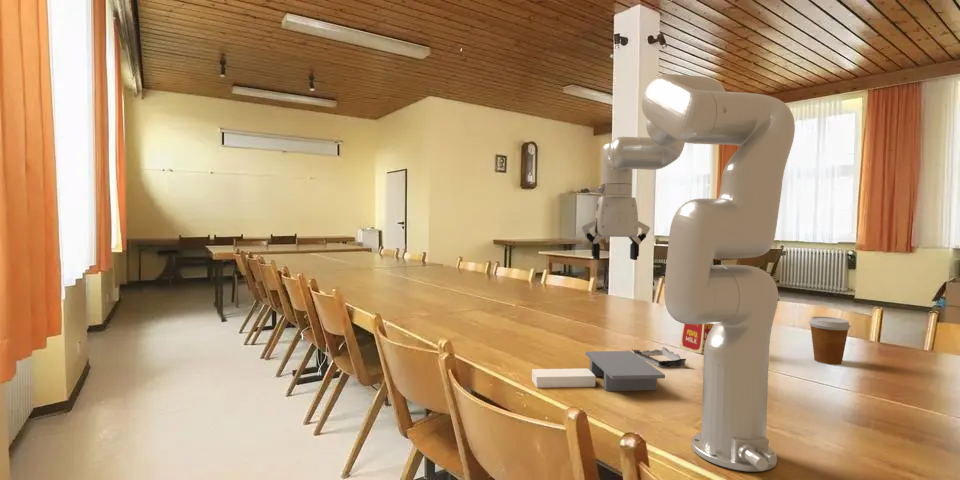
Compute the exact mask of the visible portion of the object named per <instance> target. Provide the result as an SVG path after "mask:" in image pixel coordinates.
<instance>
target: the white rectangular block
mask: <svg viewBox="0 0 960 480" xmlns="http://www.w3.org/2000/svg"><path fill="white" fill-rule="evenodd" d="M596 377H597V376H595V375H594V374H593V373H592V372H591V371H590V368H532V369H531V380H532V382H533V384H534V386H535V387H536V388H542V389H543V388H585V387H586V388H588V387H595V388H596Z"/></svg>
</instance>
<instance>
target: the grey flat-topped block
mask: <svg viewBox="0 0 960 480" xmlns="http://www.w3.org/2000/svg"><path fill="white" fill-rule="evenodd" d="M585 355H586V357H588V358H589V360H590V361H589V370H590V371H591V372H592V373H593V374H594V375H595V376H596V377H603V390H604V391H606V392H613V391H614V392H615V391H617V392H618V391H619V392H621V391H625V392H626V391H657V389H658V387H657V385H658V384H657V383H658V382H657V381H658V379H665V378H666V374H664V373H663V372H661V370H659V369H658V368H656V367H654V365H652V364H651V363H648V362H647V361H644V360H643V359H641V358H640V357H638V356H637V355H635V353H634V352H633V351H631V350H615V351H614V350H611V351H610V350H609V351H606V350H602V351H599V350H598V351H585Z"/></svg>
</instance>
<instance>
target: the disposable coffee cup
mask: <svg viewBox="0 0 960 480" xmlns="http://www.w3.org/2000/svg"><path fill="white" fill-rule="evenodd" d="M808 324H809V326H810V333H811V340H812V341H811V342H812V349H813V350H812V351H813V359H814V361H815V362H818V363H821V364H825V365H831V366H832V365H833V366H837V365H838V366H839V365H842V364H843V359H844V353H845V348H846V343H847V338H848V333H849V330H850V329H851V325H850V322H849V320H847V319H843V318H838V317H832V316H811V317H810V319H809V321H808Z"/></svg>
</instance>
